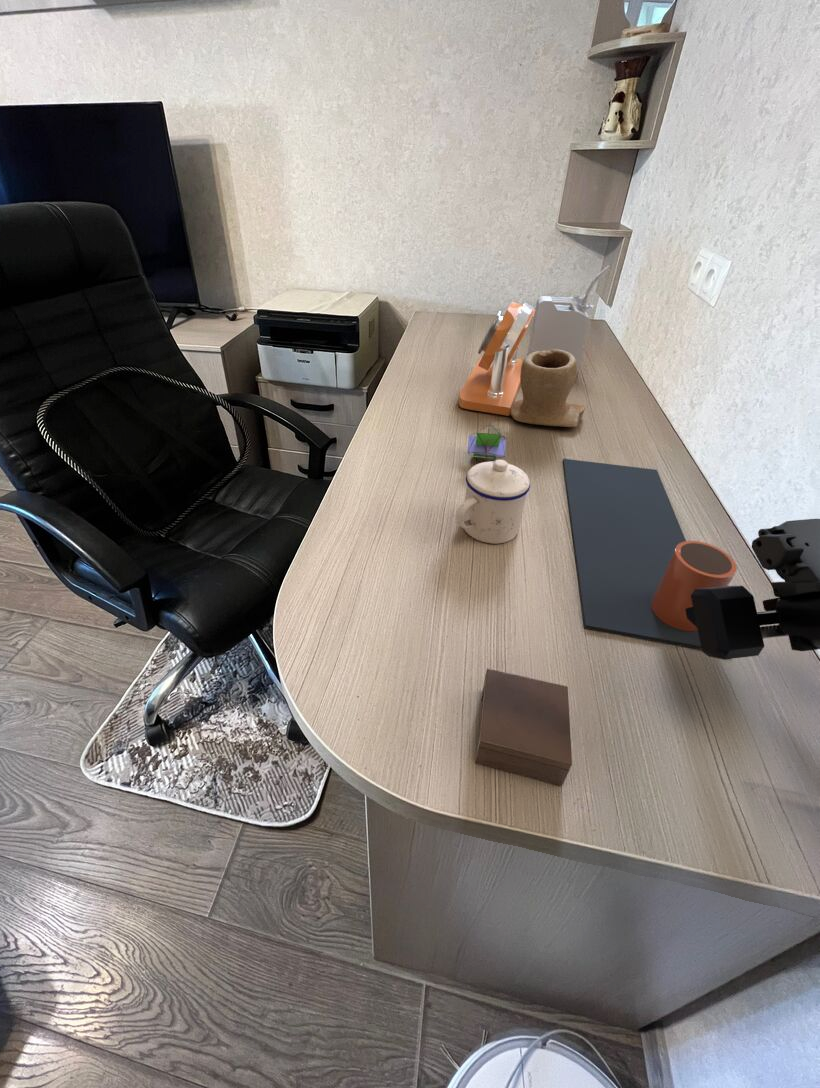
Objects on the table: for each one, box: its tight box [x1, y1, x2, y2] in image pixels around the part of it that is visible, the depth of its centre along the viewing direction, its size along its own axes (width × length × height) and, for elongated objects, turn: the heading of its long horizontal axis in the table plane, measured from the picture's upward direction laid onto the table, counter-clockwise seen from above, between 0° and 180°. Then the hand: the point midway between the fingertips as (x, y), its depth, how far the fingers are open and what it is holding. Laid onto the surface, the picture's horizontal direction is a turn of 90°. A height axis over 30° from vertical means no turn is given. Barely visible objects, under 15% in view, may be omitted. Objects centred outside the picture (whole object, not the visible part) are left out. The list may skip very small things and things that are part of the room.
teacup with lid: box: [455, 459, 531, 545], centre depth 73 cm, size 12×9×12 cm
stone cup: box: [509, 349, 587, 428], centre depth 102 cm, size 15×12×15 cm
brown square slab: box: [474, 668, 573, 787], centre depth 49 cm, size 8×8×4 cm
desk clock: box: [458, 301, 536, 417], centre depth 115 cm, size 12×30×20 cm, turn 159°
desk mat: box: [562, 458, 702, 651], centre depth 75 cm, size 40×16×1 cm, turn 166°
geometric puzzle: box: [466, 423, 507, 462], centre depth 91 cm, size 7×7×8 cm
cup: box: [651, 540, 738, 631], centre depth 60 cm, size 6×6×9 cm
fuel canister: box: [526, 265, 612, 372], centre depth 124 cm, size 15×5×25 cm, turn 80°
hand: (726, 609), depth 55 cm, fingers open, 9 cm apart
